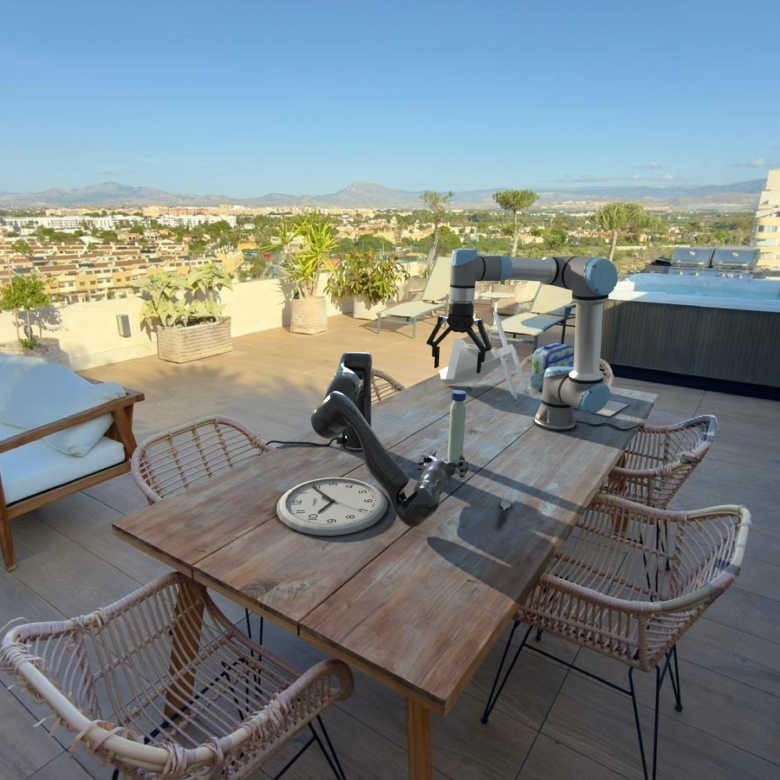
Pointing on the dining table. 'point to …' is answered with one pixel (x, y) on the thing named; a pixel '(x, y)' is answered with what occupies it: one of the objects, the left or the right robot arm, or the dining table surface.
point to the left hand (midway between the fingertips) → (448, 456)
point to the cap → (458, 395)
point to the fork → (504, 505)
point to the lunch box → (549, 361)
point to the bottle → (456, 430)
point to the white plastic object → (466, 363)
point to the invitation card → (611, 408)
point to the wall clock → (331, 506)
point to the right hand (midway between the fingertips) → (457, 369)
